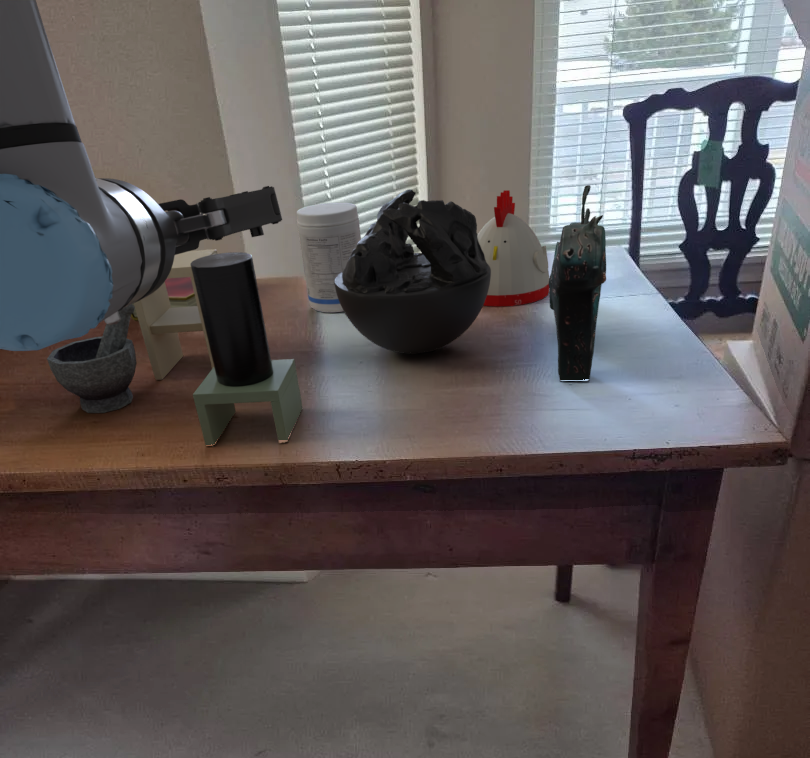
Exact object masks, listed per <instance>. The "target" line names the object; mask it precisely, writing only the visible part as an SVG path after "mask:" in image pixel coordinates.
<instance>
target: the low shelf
mask: <svg viewBox="0 0 810 758" xmlns="http://www.w3.org/2000/svg"><path fill="white" fill-rule="evenodd" d="M295 360H296V359H295V358H290V359H289V358H287V359H271V361H272V366H273V375H272V376H271V377H270V378H268V379H267V380H265V381H262V382H260V383H257V384H253V385H248V386H239V387H232V386H225V385H222V384H220V383H219V382H218V381H217V377H216V372H215V368H214V367H213V369H212V368H211V370H210V371H209V373H208V374H207V375H206V377H205V378H204V379H203V380H202V382H201V383H200V385H199V386H198V387H197V388H196V390H195V391H194V392H193V393H192V397H193V401H194V405H195V409H196V414H197V417H198V421H199V425H200V430H201V433H202V438H203V442H204V445H205V446H206V445H211V444H212V445H213V444H215V442H216V441H217V439H218V438H219V437H220V435H221V434H222V435H223V433H224V432H225V430H226V429H227V427H228V425H229V424H230V422H231V420H232V419H233V417H234V416H235V414H236V412H237V409H236V406H235V404H246V403H247V404H248V403H269V402H270V407H271V410H272V411H271V412H272V415H273V421H274V426H275V431H276V432H275V433H276V437H277V441H278V440H288V437H289V435H290V433H291V431H292V429H293V427H294V425H295V423H296V421H297V422H298V420H297V418H298V417H299V418H300V416H301V413H302V411H303V409H304V407H303V401H302V396H301V389H300V384H299V377H298V372H297V366H296V361H295ZM302 408H303V409H302ZM301 410H302V411H301ZM300 412H301V413H300ZM299 415H300V416H299ZM232 416H233V417H232ZM231 418H232V419H231ZM299 418H298V419H299ZM229 421H230V422H229ZM228 423H229V424H228ZM227 424H228V425H227ZM296 424H297V423H296ZM226 426H227V427H226ZM295 426H296V425H295ZM225 428H226V429H225ZM294 428H295V427H294ZM224 429H225V430H224ZM223 431H224V432H223ZM222 432H223V433H222ZM222 435H221V436H222ZM220 438H221V437H220ZM220 438H219V439H220Z"/></svg>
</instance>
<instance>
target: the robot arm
mask: <svg viewBox="0 0 810 758" xmlns="http://www.w3.org/2000/svg"><path fill="white" fill-rule="evenodd" d="M57 66H58V65H57V63H56V59H55V56H54V54H53V50H52V48H51V45H50V41H49V37H48V35H47V31H46V29H45V26H44V22H43V20H42V16H41V12H40V9H39V6H38V3H37V0H0V350H4V351H12V352H28V351H29V352H31V351H40V350H42V349H45V348H48V347H51V346H53V345H55V344H58V343H60V342H63V341H68V340H71V339H77V338H81V337H83V336H85V335H87V334H89V332H90V330H92V329H96V327H98V325H99V324H100V323H102V322H103V321H104V323H105V324H106V323H107V324H108V325H112V324H117V323H118V322H119V321H120V320H121V317H120V314H119V312H118V311H120V310H122V309H123V308H125V307H127V306H129V305H131V304H133V303H135V302H137V301H140V300H141V299H143V298H145V297H147V296H148V295H150V294H152V293H153V292H155V291H156V290H157V289H158V288H159V287H160V286H161V285H162V284H163V283H164V282H165V280H166V279H167V277H168V275H169V273H170V271H171V268H172V265H173V261H174V256H175V255H177V254H181V253H184V252H188V251H197V250H198V249H199V247H200V242H201V241H204V240H210V241H216V242H217V241H221V240H223V238H225V237H228V236H230V235H234V234H237V233H240V232H241V233H242V232H244V231H249V232H250V233H249V234H250V235H251V236H250V237H251V238H256V237H262V236H265V233H264V229H263V227H264V226H266V225H270V224H271V225H277V224H279V223H280V222H282V221H283V217H282V212H281V209H280V205H279V201H278V196H277V194H276V190H275V187H274V186H270V185H265V186H263V187H262V188H261V189H257V190H251V191H248V190H245V191H242V192H239V193H238V192H237V193H234V194H229V195H227V196H226V195H225V196H221V197H216V198H213V197H210V196H208V197H204V198H203V199H201V200H200V201H198V202H196V203H194V204H189V203H188V202H187V201H185V200H184V199H175V200H170V201H165V202H160V203H158V202H156V200H155V199H154V198H153V197H151V195H150V194H148V193H147V192H146V191H144V190H143V189H142V188H139V187H138V186H136V185H134V184H132V183H131V182H128V181H124V180H121V179H116V178H110V177H109V178H105V177H103V178H102V177H101V178H100V177H96V176H95V172H94V169H93V167H92V163H91V160H90V158H89V155H88V152H87V149H86V146H85V144H84V142H82V138H81V136H80V133H79V130H78V126H77V125H76V121H75V119H74V116H73V112H72V109H71V107H70V102H69V101H68V96H67V94H66V91H65V88H64V85H63V82H62V81H63V80H62V78H61V75H60V72H59V69H58V67H57Z"/></svg>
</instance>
